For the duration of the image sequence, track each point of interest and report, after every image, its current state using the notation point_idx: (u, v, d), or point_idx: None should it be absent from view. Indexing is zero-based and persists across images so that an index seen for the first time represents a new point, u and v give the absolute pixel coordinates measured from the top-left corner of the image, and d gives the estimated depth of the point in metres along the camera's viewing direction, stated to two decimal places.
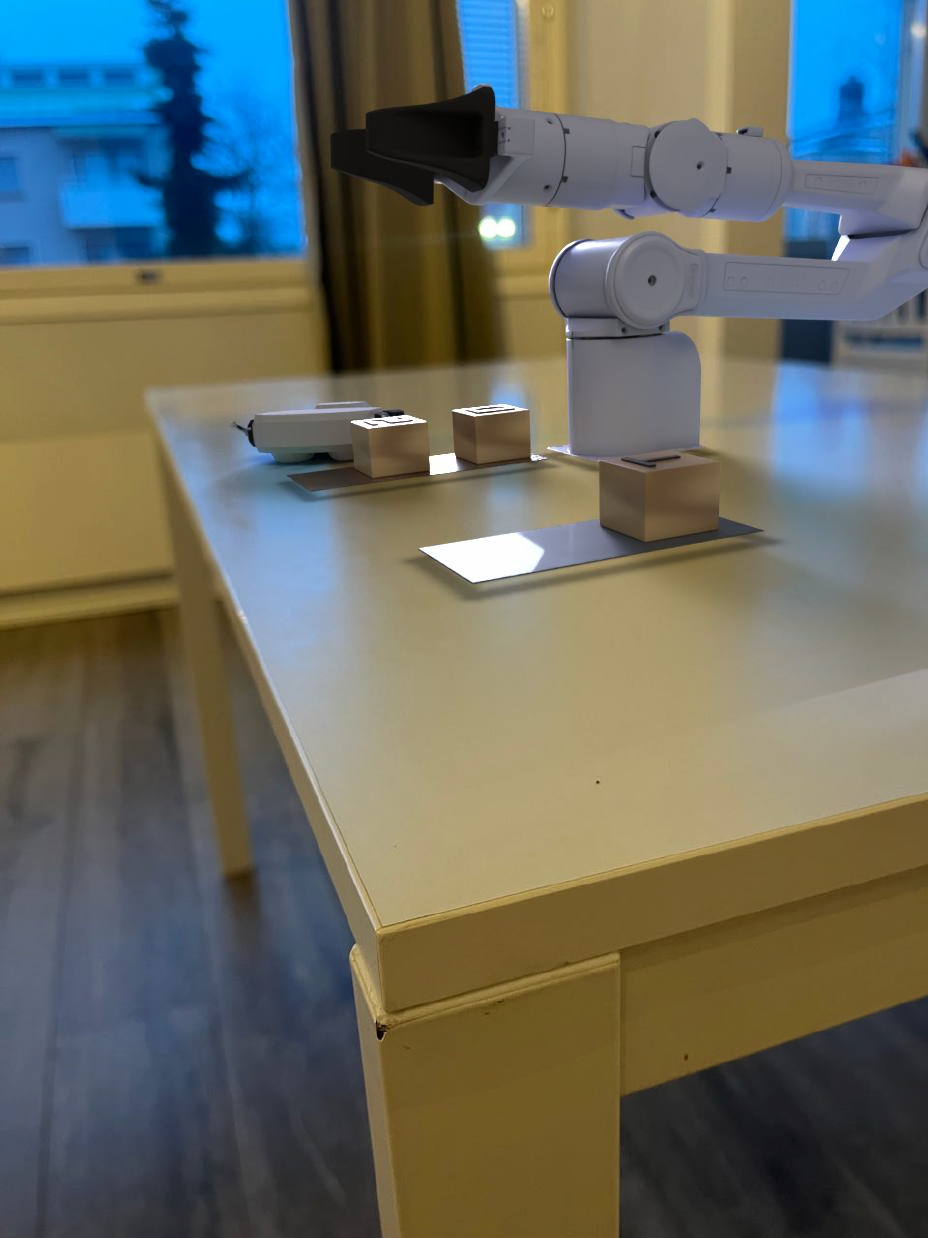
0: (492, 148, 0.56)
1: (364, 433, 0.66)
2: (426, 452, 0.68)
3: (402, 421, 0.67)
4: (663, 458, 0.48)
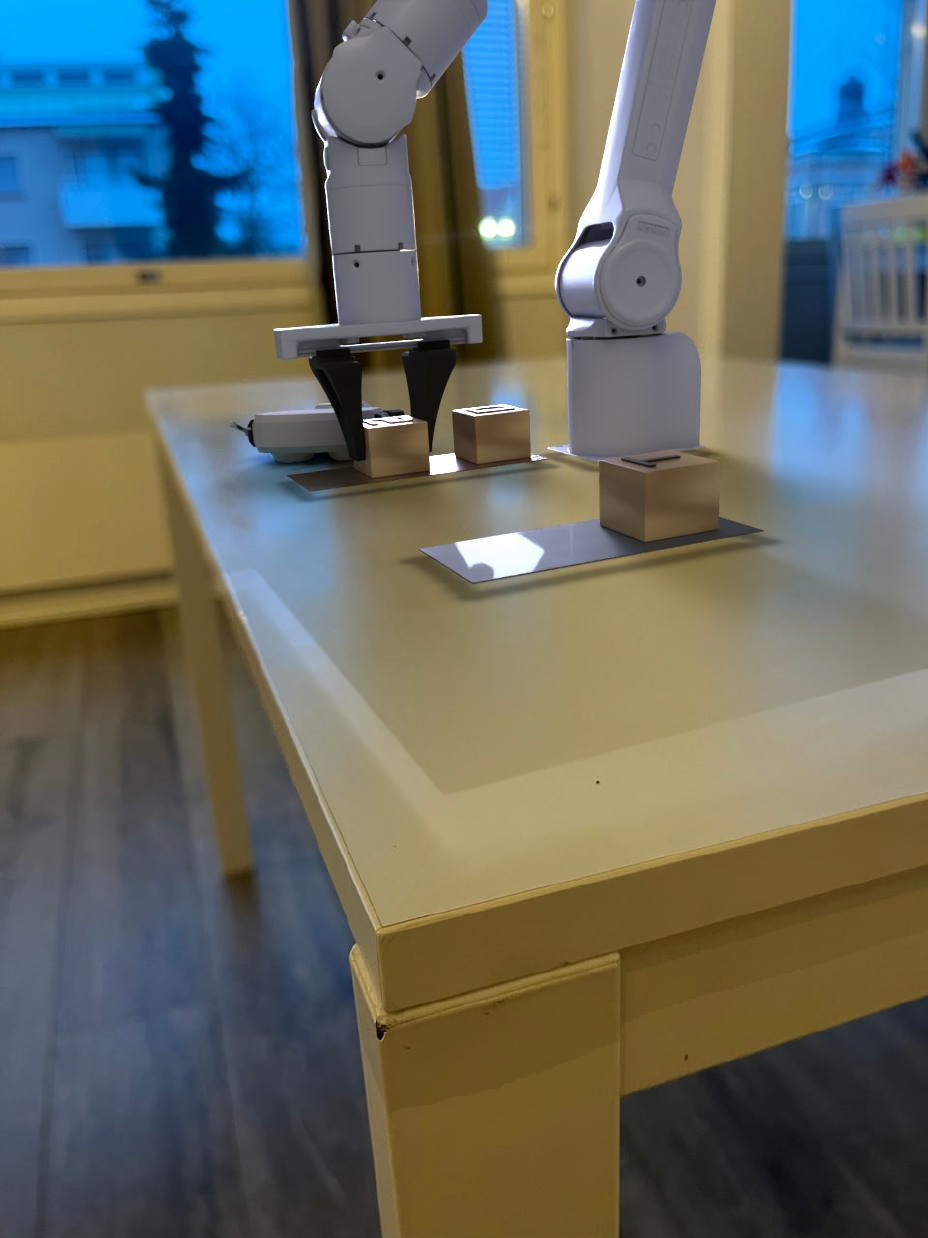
0: (317, 361, 0.64)
1: None
2: (426, 452, 0.68)
3: (402, 421, 0.67)
4: (663, 458, 0.48)
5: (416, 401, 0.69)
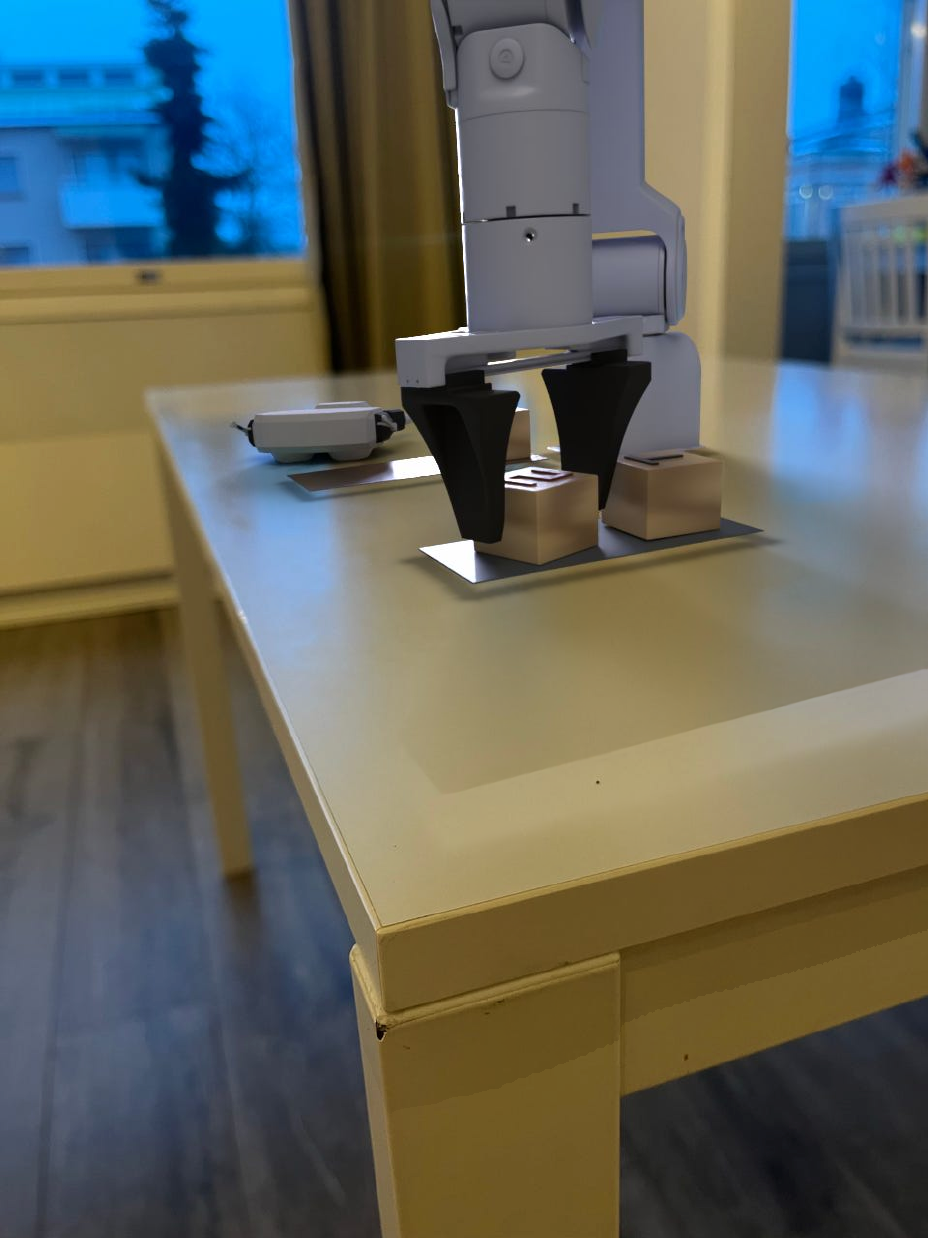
0: (443, 392, 0.40)
1: (523, 500, 0.44)
2: (595, 519, 0.46)
3: (562, 477, 0.45)
4: (666, 457, 0.48)
5: (580, 438, 0.48)
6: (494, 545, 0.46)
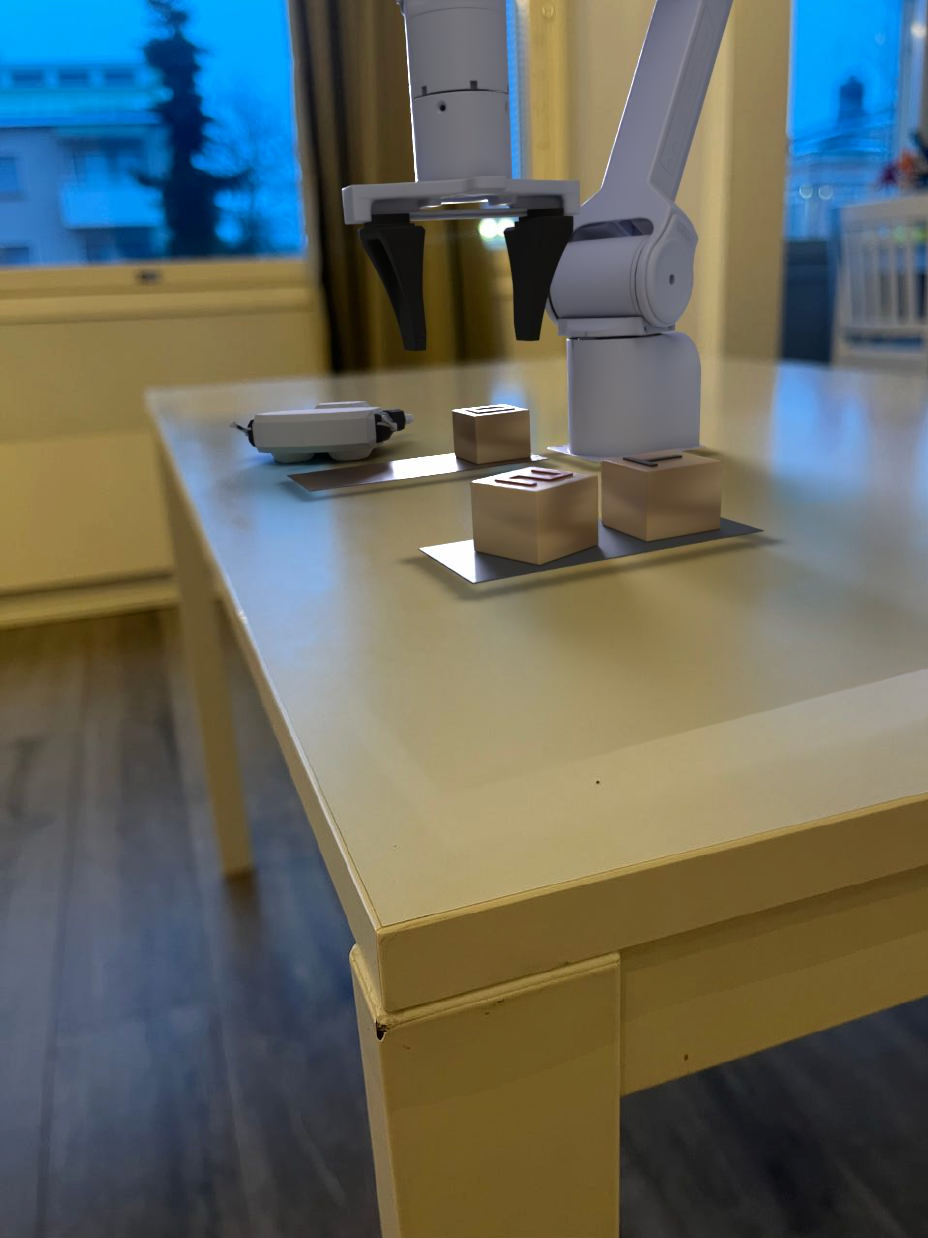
0: None
1: (523, 500, 0.44)
2: (595, 519, 0.46)
3: (562, 477, 0.45)
4: (665, 457, 0.48)
5: None
6: (494, 545, 0.46)
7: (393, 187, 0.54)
